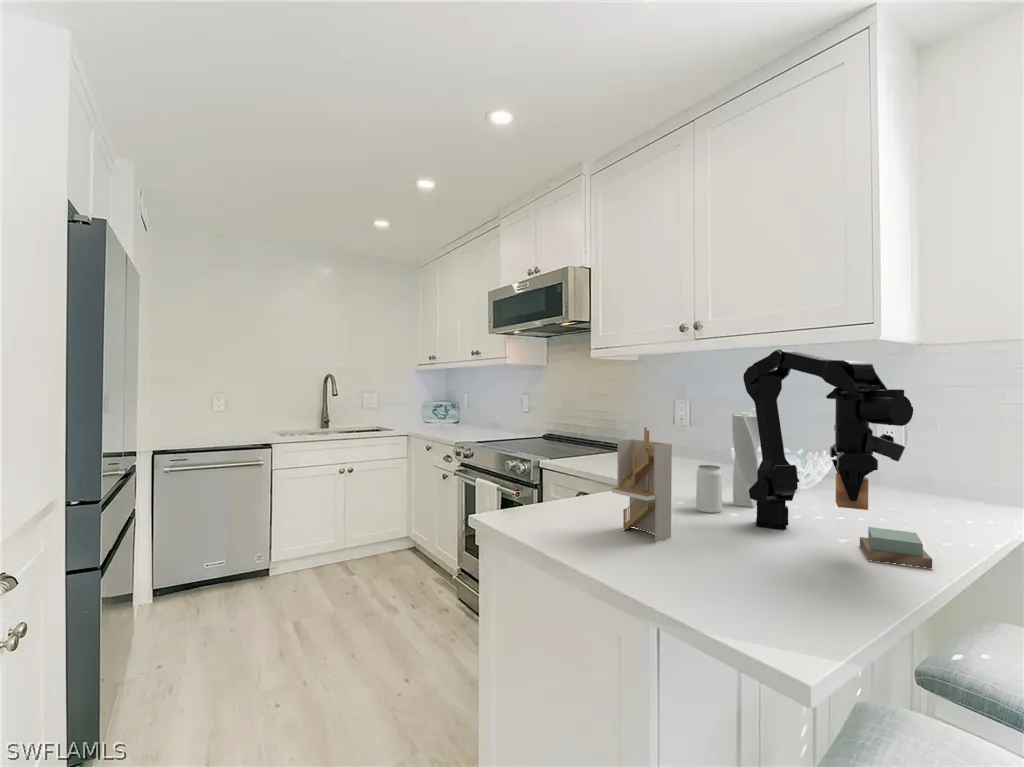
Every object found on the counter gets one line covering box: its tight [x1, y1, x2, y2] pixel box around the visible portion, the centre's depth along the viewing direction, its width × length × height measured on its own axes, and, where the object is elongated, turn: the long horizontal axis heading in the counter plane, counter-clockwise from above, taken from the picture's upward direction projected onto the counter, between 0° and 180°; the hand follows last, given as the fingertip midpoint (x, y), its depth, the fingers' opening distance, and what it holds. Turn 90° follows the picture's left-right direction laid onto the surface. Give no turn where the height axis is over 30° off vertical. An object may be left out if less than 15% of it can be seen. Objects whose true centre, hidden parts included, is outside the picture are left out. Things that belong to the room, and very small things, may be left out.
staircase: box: [611, 426, 673, 543], centre depth 117 cm, size 8×12×26 cm
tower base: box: [859, 536, 933, 569], centre depth 103 cm, size 10×10×2 cm
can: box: [695, 464, 723, 514], centre depth 139 cm, size 6×6×12 cm
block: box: [835, 473, 869, 511], centre depth 104 cm, size 5×5×6 cm
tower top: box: [867, 526, 924, 557], centre depth 103 cm, size 8×8×2 cm
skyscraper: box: [731, 407, 760, 509], centre depth 146 cm, size 8×8×28 cm
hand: (851, 498), depth 104 cm, fingers closed on block, 5 cm apart
